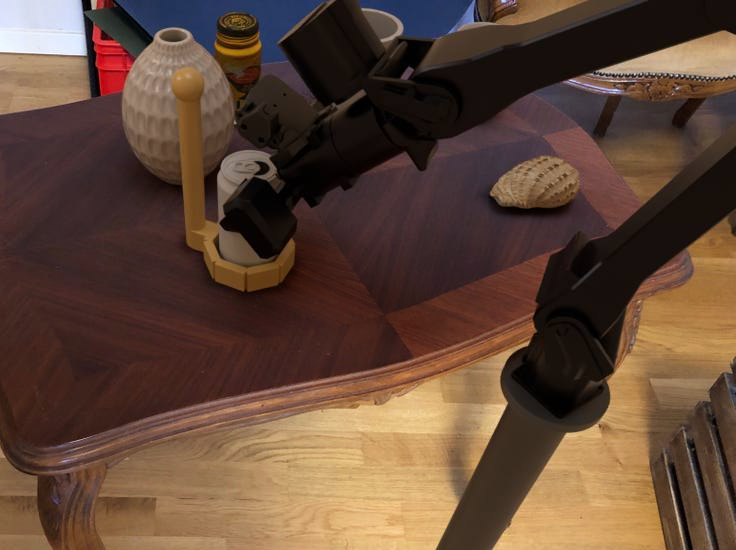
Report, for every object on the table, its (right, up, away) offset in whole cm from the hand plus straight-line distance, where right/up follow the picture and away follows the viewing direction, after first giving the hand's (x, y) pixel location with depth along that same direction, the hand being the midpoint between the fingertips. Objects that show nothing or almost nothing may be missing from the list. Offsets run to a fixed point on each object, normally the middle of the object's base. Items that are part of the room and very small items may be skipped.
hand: (237, 207), depth 72 cm
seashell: (+34, +3, +13) cm, 37 cm away
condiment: (-1, +19, +25) cm, 31 cm away
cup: (+15, +18, +24) cm, 33 cm away
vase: (-7, +8, +15) cm, 18 cm away
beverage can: (+1, -5, +5) cm, 7 cm away
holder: (0, -4, +5) cm, 7 cm away
